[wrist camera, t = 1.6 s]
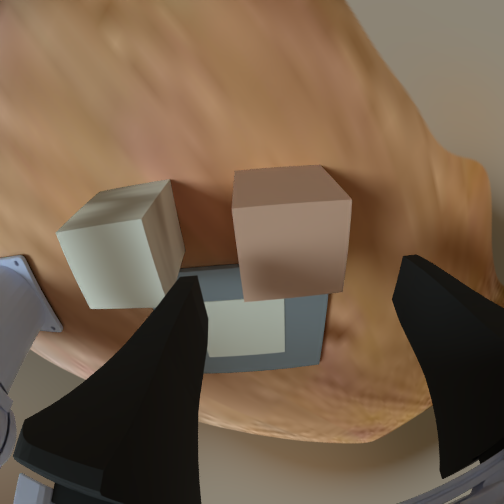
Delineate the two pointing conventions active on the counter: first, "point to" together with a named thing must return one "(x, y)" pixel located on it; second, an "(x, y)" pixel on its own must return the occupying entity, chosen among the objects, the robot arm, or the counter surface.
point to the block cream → (125, 246)
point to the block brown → (290, 232)
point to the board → (257, 325)
